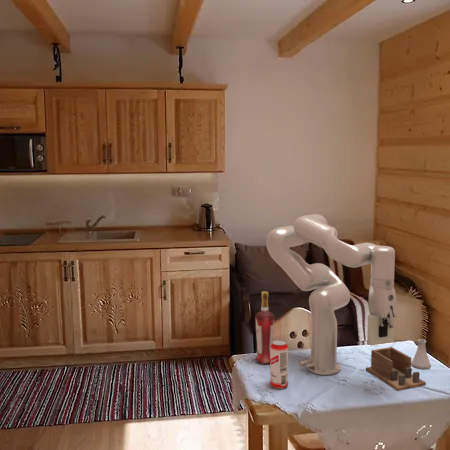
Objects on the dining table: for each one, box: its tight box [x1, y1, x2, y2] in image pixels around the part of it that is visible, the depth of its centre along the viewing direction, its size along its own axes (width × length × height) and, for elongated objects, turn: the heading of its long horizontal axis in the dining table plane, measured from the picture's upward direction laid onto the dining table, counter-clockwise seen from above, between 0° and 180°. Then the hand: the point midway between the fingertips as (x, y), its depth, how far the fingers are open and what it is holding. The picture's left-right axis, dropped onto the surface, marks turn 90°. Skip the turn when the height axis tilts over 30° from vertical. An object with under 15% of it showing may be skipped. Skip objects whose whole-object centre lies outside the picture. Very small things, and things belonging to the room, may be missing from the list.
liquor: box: [254, 291, 275, 365], centre depth 198 cm, size 7×7×28 cm
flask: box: [411, 338, 432, 370], centre depth 194 cm, size 7×7×10 cm
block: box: [366, 314, 395, 347], centre depth 173 cm, size 9×3×10 cm, turn 109°
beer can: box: [269, 339, 289, 390], centre depth 178 cm, size 6×6×16 cm
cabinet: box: [365, 346, 427, 392], centre depth 184 cm, size 12×18×8 cm, turn 20°
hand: (380, 335), depth 174 cm, fingers closed on block, 2 cm apart
